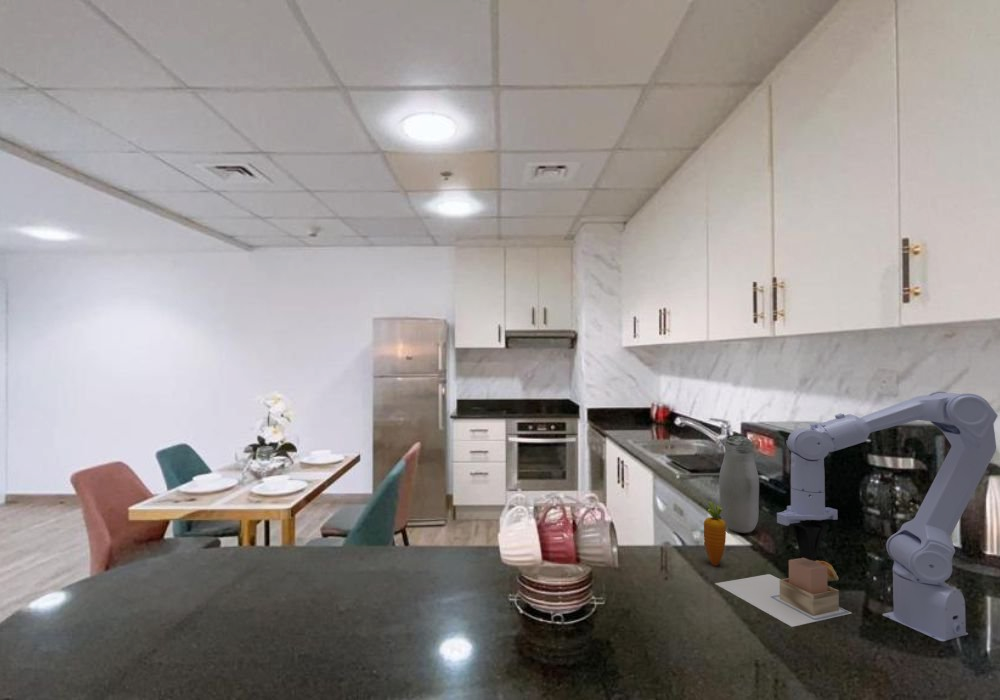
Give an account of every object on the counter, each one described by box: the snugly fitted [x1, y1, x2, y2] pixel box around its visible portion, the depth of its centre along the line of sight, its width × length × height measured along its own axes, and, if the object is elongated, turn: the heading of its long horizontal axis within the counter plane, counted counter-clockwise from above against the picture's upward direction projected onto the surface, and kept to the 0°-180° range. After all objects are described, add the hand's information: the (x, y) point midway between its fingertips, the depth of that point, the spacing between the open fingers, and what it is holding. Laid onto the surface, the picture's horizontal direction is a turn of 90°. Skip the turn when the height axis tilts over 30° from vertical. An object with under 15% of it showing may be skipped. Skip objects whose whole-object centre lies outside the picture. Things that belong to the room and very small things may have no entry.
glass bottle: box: [718, 435, 760, 534], centre depth 138 cm, size 10×10×28 cm
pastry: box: [814, 559, 840, 583], centre depth 106 cm, size 9×7×4 cm
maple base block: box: [780, 577, 840, 616], centre depth 92 cm, size 7×7×4 cm
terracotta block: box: [788, 557, 828, 595], centre depth 93 cm, size 5×5×5 cm
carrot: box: [703, 501, 727, 567], centre depth 111 cm, size 5×5×15 cm
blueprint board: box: [714, 573, 852, 628], centre depth 95 cm, size 18×16×1 cm
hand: (808, 558), depth 93 cm, fingers closed
